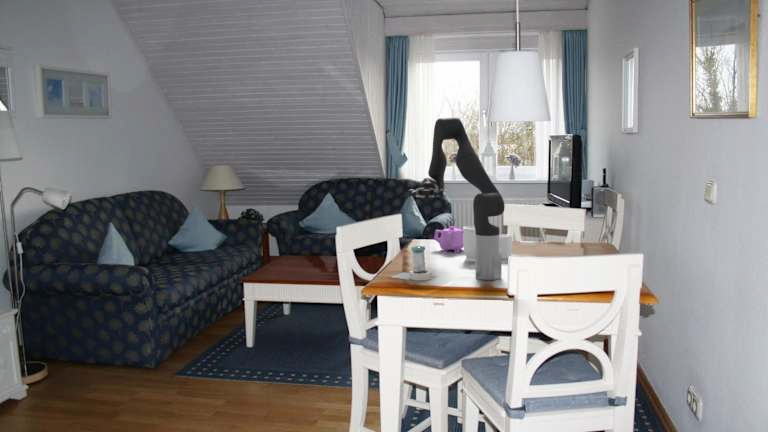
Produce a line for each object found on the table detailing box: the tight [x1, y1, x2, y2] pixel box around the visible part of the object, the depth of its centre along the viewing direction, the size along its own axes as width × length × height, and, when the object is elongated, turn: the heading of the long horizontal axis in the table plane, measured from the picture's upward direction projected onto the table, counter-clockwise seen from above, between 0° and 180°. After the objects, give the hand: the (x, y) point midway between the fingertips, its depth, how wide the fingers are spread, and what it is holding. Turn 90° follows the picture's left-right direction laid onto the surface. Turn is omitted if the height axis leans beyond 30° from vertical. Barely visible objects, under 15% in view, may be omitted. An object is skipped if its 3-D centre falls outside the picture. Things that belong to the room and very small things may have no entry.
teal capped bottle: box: [411, 245, 426, 273], centre depth 266 cm, size 5×5×12 cm
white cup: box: [499, 233, 513, 260], centre depth 309 cm, size 8×8×10 cm
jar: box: [462, 225, 476, 263], centre depth 303 cm, size 11×10×15 cm
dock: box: [390, 269, 438, 283], centre depth 269 cm, size 16×10×4 cm, turn 55°
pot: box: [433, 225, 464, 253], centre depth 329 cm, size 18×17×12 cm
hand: (424, 194), depth 278 cm, fingers open, 8 cm apart
